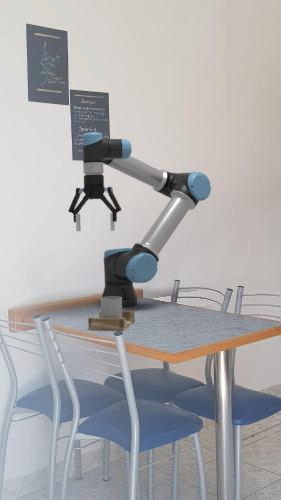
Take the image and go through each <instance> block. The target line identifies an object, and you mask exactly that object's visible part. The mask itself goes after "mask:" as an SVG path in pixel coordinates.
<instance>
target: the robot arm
mask: <svg viewBox="0 0 281 500" xmlns="http://www.w3.org/2000/svg"><path fill="white" fill-rule="evenodd" d="M81 146H82V161H83V163H82V165H83V168H82V169H83V174H84V175H83V187H82V188H81V187H76V188H75V194H74V197H73V199H72V201H71V204H70V206H69V208H68V212H69V213H70V214H72V215H73V223H75V228H76V229H75V230H76V232H81V231H82V230H81V229H82V228H81V213H80V211H81V210H82V208H83V206H85V204H86V203H87V202H88V201H89V200H100V201H102V202H103V203H104V205H105V206H106V207H107V209H109V211H111V212H110V214H109V215H110V216H109V217H110V218H109V219H110V222H109V223H110V232H114V231H115V224H116V223H117V220H118V217H117V216H118V215H117V214H118V213H119V212H122V208H121V206H120V204H119V202H118V199H117V198H116V195H115V194H114V192H113V191H114V190H113V187H112V186H108V187H105V179H104V177H105V175H104V172H105V171H104V165H106V166H108V167H110V168H112V169H114V170H116V171H118V172H120V173H123V174H125V175H127V176H129V177H131V178H132V179H136V180H137V181H139V182H142V183H143V184H145V185H148V186H150V187H152V190H153V191H155V192H157V193H159V194H161V195H163V196H165V197H167V198H170V199H169V201H168V203H167V204H166V205H165V207H164V209H162V211H161V212H160V214H159V215H158V217H157V219H156V220H155V221H154V223H153V224H152V226H151V227H150V228H149V230H148V231H147V232H146V234H145V235H144V237H143V238H142V240H141V241H140V242H135V243H134V244H133V246H132V247H123V248H113V249H107V250H105V251H104V252H103V270H104V271H103V272H104V288H103V291H102V295H101V298H102V297H109V296H117V297H122V308H123V307H131V306H136V305H138V301H139V300H138V296H137V293H136V291H135V287H134V284H133V283H135V284H144V283H145V284H146V283H148V282H150V281H151V280H153V279H154V278H155V276H156V275H157V272H158V262H159V261H160V257H159V254H160V253H161V252H162V250H163V248H164V247H165V246H166V244H167V243H168V241H169V240H170V238H171V237H172V236H173V233H175V231H176V229H177V228H178V226H179V225H180V223H181V222H182V220H183V219H184V217H186V215H187V214H188V211H191V210H195V208H196V207H197V205H198V203H200V202H201V201H206V200H207V198H209V196H210V194H211V191H212V186H211V181H210V179H209V177H208V176H207V175H206V174H205V173H203V172H202V171H200V172H199V171H191V172H179V173H178V172H172V171H167V170H165V169H161V170H160V169H158V168H156V167H154V166H152V165H150V164H147V162H146V163H145V162H143V161H142V160H140V159H137V158H135V157H134V156H132V144H131V141H130V140H128V139H124V138H104V137H103V133H101V132H93V131H92V132H85V133H83V135H82V144H81ZM105 192H106V193H107V194H108V196H109V198H110V200H111V202H110V201H109V199H107V197H106V196H105ZM83 193H84V196H83V197H82V199H81V200H80V202H78V201H79V199H80V198H81V194H83ZM112 204H113V205H112Z"/></svg>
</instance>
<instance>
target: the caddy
mask: <svg viewBox="0 0 281 500" xmlns="http://www.w3.org/2000/svg"><path fill="white" fill-rule="evenodd" d="M87 321H88V330H89V331H115V330H122V331H125V330H126V329H128V328H129V327H130V326H131V325H133V324H134V323H135V311H134V310H129V311H128V310H122V318H121V319H107V318H101V311H99V317H94V316H90V317H89V318H88V319H87Z"/></svg>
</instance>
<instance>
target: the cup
mask: <svg viewBox="0 0 281 500" xmlns="http://www.w3.org/2000/svg"><path fill="white" fill-rule="evenodd" d="M100 308H101V309H100V312H101V318H107V319H121V318H122V311H123V307H122V297H117V296H109V297H102V296H101V298H100Z"/></svg>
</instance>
